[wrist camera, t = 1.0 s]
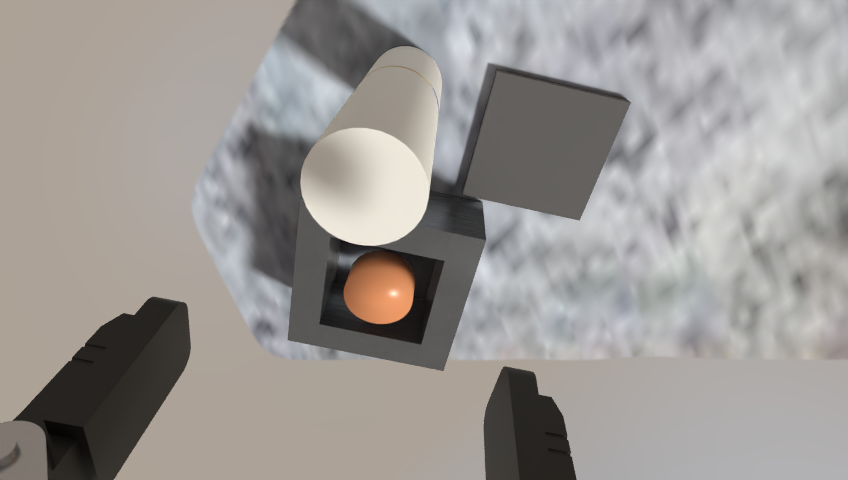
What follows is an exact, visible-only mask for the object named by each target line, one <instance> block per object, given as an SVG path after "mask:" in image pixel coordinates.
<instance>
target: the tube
mask: <svg viewBox="0 0 848 480" xmlns="http://www.w3.org/2000/svg"><path fill="white" fill-rule="evenodd" d="M441 89H442V79H441V74H440V71H439V69H438V66H437V65H436V63H435V61H434V60H433V59H432V58H431V57H430V56H429V55H428V54H427V53H425V52H424V51H422V50H420V49H418V48H415V47H411V46H399V47H395V48H392V49H390V50H388V51H386V52H385V53H384V54H382V55H381V56H380V57H379V59H378V60H377V61H376V62H375V64H374V65H373V66H372V68H371V69H370V70H369V72H368V73H367V75H366V76H365V77H364V79H363V80H362V81H361V83H360V84H359V85H358V87H357V88H356V89H355V91H354V92H353V94H352V95H351V96H350V98H349V99H348V100H347V102H346V103H345V104H344V106H343V107H342V108H341V110H340V111H339V112H338V114H337V115H336V117H335V118H334V119H333V121H332V122H331V123H330V125H329V126H328V127H327V129H326V130H325V131H324V133H323V134H322V135H321V137H320V138H319V140H318V141H317V142H316V144H315V145H314V146H313V148H312V149H311V150H310V152H309V154H308V155H307V157H306V159H305V161H304V164H303V167H302V171H301V181H300V185H301V191H302V196H303V199H304V202H305V204H306V207H307V209H308V210H309V212H310V214H311V215H312V217H313V218H314V219H315V220H316V221H317V223H318V224H319V225H320V226H321V227H323V228H324V229H325V230H326V231H327V232H329V233H330V234H332V235H334V236H335V237H337V238H339V239H342V240H344V241H347V242H349V243H353V244H358V245H368V246H376V245H382V244H388V243H391V242H393V241H396V240H398V239H400V238H402V237H404V236H405V235H407V234H408V233H409V232H410V231H412V230H413V229H414V228H415V227H416V225H417V224H418V223H419V222H420V220H421V219H422V217H423V215H424V213H425V211H426V207H427V203H428V199H429V191H430V182H431V173H432V165H433V156H434V148H435V139H436V131H437V123H438V114H439V106H440V98H441Z"/></svg>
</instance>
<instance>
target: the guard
mask: <svg viewBox="0 0 848 480" xmlns="http://www.w3.org/2000/svg"><path fill="white" fill-rule="evenodd" d="M485 242H486V235H485V225H484V214H483V204H482V202H479V201H474V200H470V199H465V198H461V197H456V196H452V195H447V194H442V193H438V192H433V191H429V199H428V203H427V207H426V211H425V213H424V215H423V217H422V219H421V220H420V222H419V223H418V224H417V225H416V227H415V228H414V229H413V230H412V231H410V232H409V233H408V234H407V235H405V236H404V237H402V238H400V239H398V240H396V241H393V242H391V243H388V244H382V245H376V247H381V248H386V249H390V250H395V251H400V252H405V253H409V254H414V255H419V256H424V257H428V258H433V259H436V262H435V266H434V270H433V274H432V277H431V281H430V285H429V288H428V292H427V296H426V299H422V298H417V297H413V302H412V306H411V309H410V310H409V312H408V313H407V314H406V315H405V316H404V317H403V318H401V319H400V320H398V321H395V322H392V323H388V324H375V323H370V322H367V321H364V320H362V319H360V318H359V317H357V316H356V315H354V314H353V313H352V312H351V311H350V309H349V308H348V307H347V305H346V303H345V300H344V287H345V284H346V283H344V282H339V281H335V280H336V273H337V266H338V259H339V252H340V245H341V239H339V238H337V237H335V236H334V235H332V234H330V233H329V232H327V231H326V230H325V229H324V228H323V227H321V226H320V225H319V224H318V223H317V221H316V220H315V219H314V218H313V217H312V215H311V214H310V212H309V210H308V209H307V207H306V204H305V202H304V199H303V196H302V198H301V199H300V203H299V214H298V226H297V238H296V250H295V261H294V273H293V285H292V296H291V308H290V320H289V331H288V340H290V341H295V342H300V343H305V344H310V345H315V346H320V347H325V348H330V349H335V350H340V351H345V352H350V353H355V354H360V355H365V356H370V357H375V358H381V359H386V360H391V361H396V362H401V363H406V364H411V365H416V366H421V367H426V368H431V369H436V370H441V371H443V370H444V367H445V364H446V361H447V358H448V355H449V352H450V349H451V346H452V343H453V340H454V337H455V334H456V331H457V328H458V325H459V321H460V318H461V315H462V312H463V309H464V306H465V303H466V300H467V297H468V294H469V291H470V288H471V285H472V282H473V279H474V276H475V272H476V269H477V266H478V263H479V260H480V257H481V254H482V251H483V248H484V245H485Z"/></svg>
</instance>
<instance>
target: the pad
mask: <svg viewBox="0 0 848 480" xmlns="http://www.w3.org/2000/svg"><path fill="white" fill-rule="evenodd" d="M630 103H631V102H629V101H628V100H626V99H621V98H617V97H613V96H609V95H604V94H600V93H596V92H592V91H587V90H583V89H579V88H575V87H570V86H566V85H562V84H558V83H553V82H549V81H545V80H541V79H536V78H532V77H528V76H524V75H519V74H515V73H511V72H507V71H502V70H498V69H496V73H495V76H494V80H493V84H492V87H491V91H490V94H489V98H488V102H487V105H486V109H485V112H484V116H483V119H482V123H481V127H480V130H479V134H478V137H477V141H476V145H475V148H474V152H473V155H472V159H471V162H470V166H469V170H468V173H467V177H466V180H465V184H464V187H463V195H466V196H470V197H475V198H479V199H484V200H489V201H493V202H498V203H502V204H507V205H511V206H516V207H521V208H525V209H530V210H534V211H539V212H543V213H548V214H552V215H557V216H562V217H566V218H571V219H575V220H580V218H581V216H582V214H583V211H584V209H585V207H586V204H587V202H588V200H589V198H590V195H591V193H592V191H593V188H594V186H595V184H596V181H597V179H598V177H599V175H600V172H601V170H602V168H603V165H604V163H605V161H606V158H607V156H608V154H609V152H610V149H611V147H612V145H613V142H614V140H615V138H616V135H617V133H618V131H619V129H620V126H621V124H622V122H623V119H624V117H625V115H626V112H627V110H628V108H629V106H630Z"/></svg>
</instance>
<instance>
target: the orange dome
mask: <svg viewBox="0 0 848 480" xmlns="http://www.w3.org/2000/svg"><path fill="white" fill-rule="evenodd" d="M414 287H415V274H414V271H413V269H412V267H411V266H410V265H409V263H408V262H407V261H406V260H404V259H403V258H402V257H400V256H398V255H396V254H394V253H391V252H387V251H373V252H369V253H366V254H364V255H362V256H360V257H359V258H358V259H357V260H356V261H355V262H354V263H353V265H352V267H351V269H350V272H349V275H348V278H347V281H346V284H345V287H344V300H345V303H346V305H347V307H348V308H349V309H350V311H351V312H352V313H353V314H354V315H356V316H357V317H359V318H360V319H362V320H364V321H367V322H370V323H375V324H388V323H392V322H395V321H398V320H400V319H401V318H403V317H404V316H405V315H406V314H407V313H408V312H409V310H410V309H411V306H412V302H413V295H414Z"/></svg>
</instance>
